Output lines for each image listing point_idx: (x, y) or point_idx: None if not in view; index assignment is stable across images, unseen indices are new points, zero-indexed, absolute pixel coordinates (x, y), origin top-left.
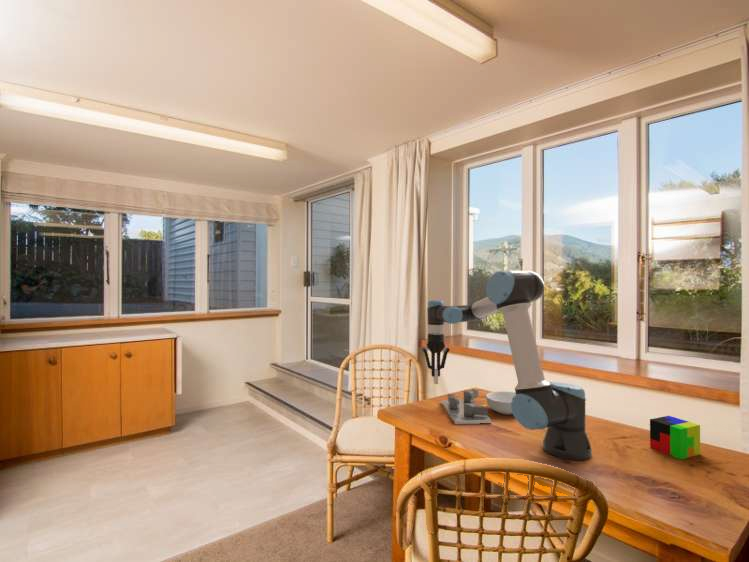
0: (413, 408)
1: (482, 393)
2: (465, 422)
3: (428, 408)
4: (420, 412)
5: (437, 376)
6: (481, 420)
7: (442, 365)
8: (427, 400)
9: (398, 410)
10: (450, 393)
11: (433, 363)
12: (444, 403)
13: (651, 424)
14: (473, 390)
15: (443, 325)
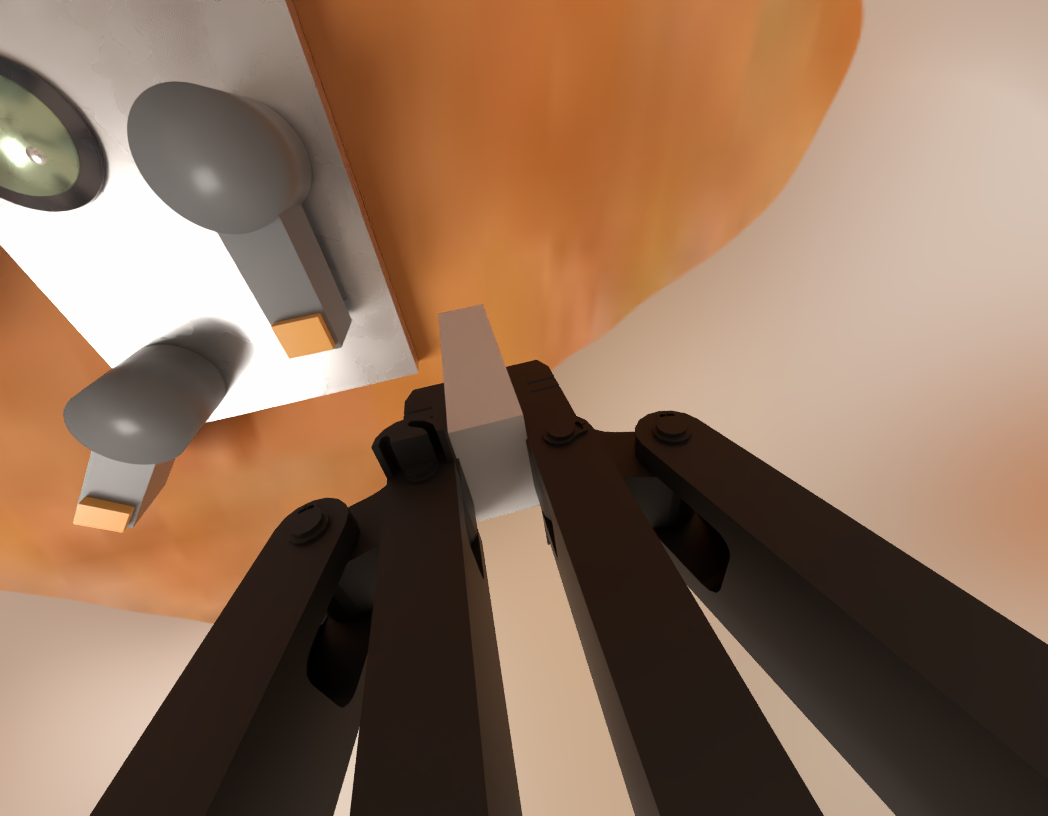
0: (623, 210)
1: (177, 584)
2: None
3: (509, 225)
4: (580, 96)
5: (450, 360)
6: None
7: (308, 568)
8: None
9: (741, 142)
10: (307, 341)
11: (615, 546)
12: (380, 291)
13: None
14: (114, 494)
15: None
